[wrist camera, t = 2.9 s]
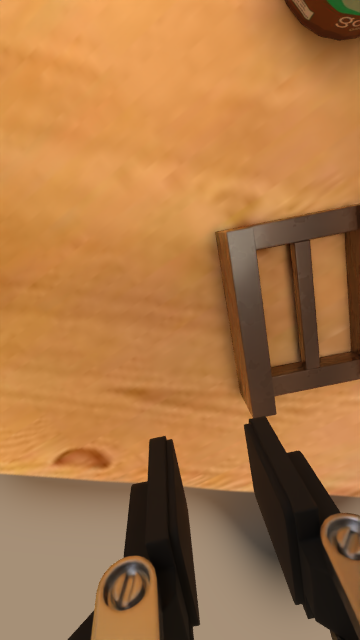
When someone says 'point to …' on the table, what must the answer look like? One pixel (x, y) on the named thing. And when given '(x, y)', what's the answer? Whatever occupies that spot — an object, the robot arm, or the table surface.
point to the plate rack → (248, 307)
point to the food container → (329, 17)
